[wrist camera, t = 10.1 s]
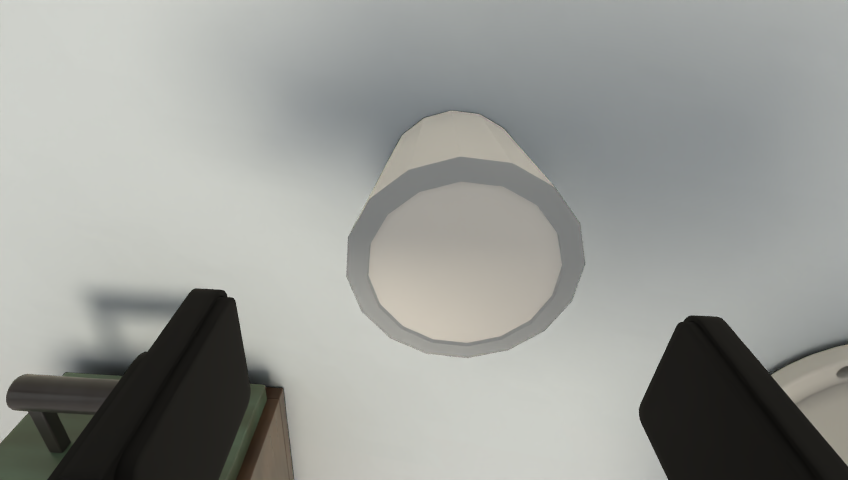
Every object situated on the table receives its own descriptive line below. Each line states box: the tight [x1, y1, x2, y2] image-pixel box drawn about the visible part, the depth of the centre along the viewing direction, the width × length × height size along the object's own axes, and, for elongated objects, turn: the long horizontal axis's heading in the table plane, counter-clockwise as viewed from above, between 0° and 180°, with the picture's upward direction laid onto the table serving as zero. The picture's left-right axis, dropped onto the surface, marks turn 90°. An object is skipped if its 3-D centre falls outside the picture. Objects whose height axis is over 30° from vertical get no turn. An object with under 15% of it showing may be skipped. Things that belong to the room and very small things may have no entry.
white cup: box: [346, 111, 585, 358], centre depth 16 cm, size 7×7×7 cm
